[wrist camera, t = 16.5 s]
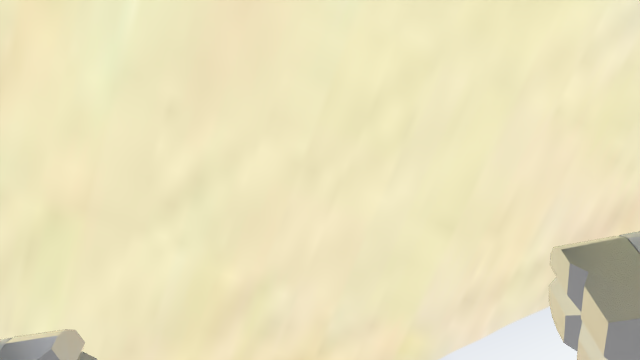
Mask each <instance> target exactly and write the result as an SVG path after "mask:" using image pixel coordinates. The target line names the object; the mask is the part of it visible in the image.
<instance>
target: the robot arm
mask: <svg viewBox="0 0 640 360" xmlns="http://www.w3.org/2000/svg"><path fill="white" fill-rule="evenodd" d="M550 266H551V268H552V270H553V272H554V273H555V275H556V278H555V279H554V280H553V281H552V283H551V284H550V285H549V304H550V309H551V313H552V318H553V320H554V323H555V325H556V328H557V331H558V332H559V334H560V336H561V338H562V340H563V342H564V343H565V344H567V345H568V346H570V347H571V348H573V349H575V350H576V351H578V352H577V360H640V231H639V232H634V233H628V234H623V235H619V236H612V237H607V238H601V239H595V240H590V241H584V242H578V243H573V244H567V245H562V246H556V247H553V249H552V252H551V256H550ZM84 344H85V342H84V340H83V339H82V338H81V336H80V335H79V334H78V333H77V331H76V330H67V329H65V330H58V331H51V332H44V333H37V334H30V335H23V336H16V337H14V338H6V339H0V360H97V359H96V358H94V357H92V356H90V355H88V354H86V353H84V352H83V348H84Z"/></svg>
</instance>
